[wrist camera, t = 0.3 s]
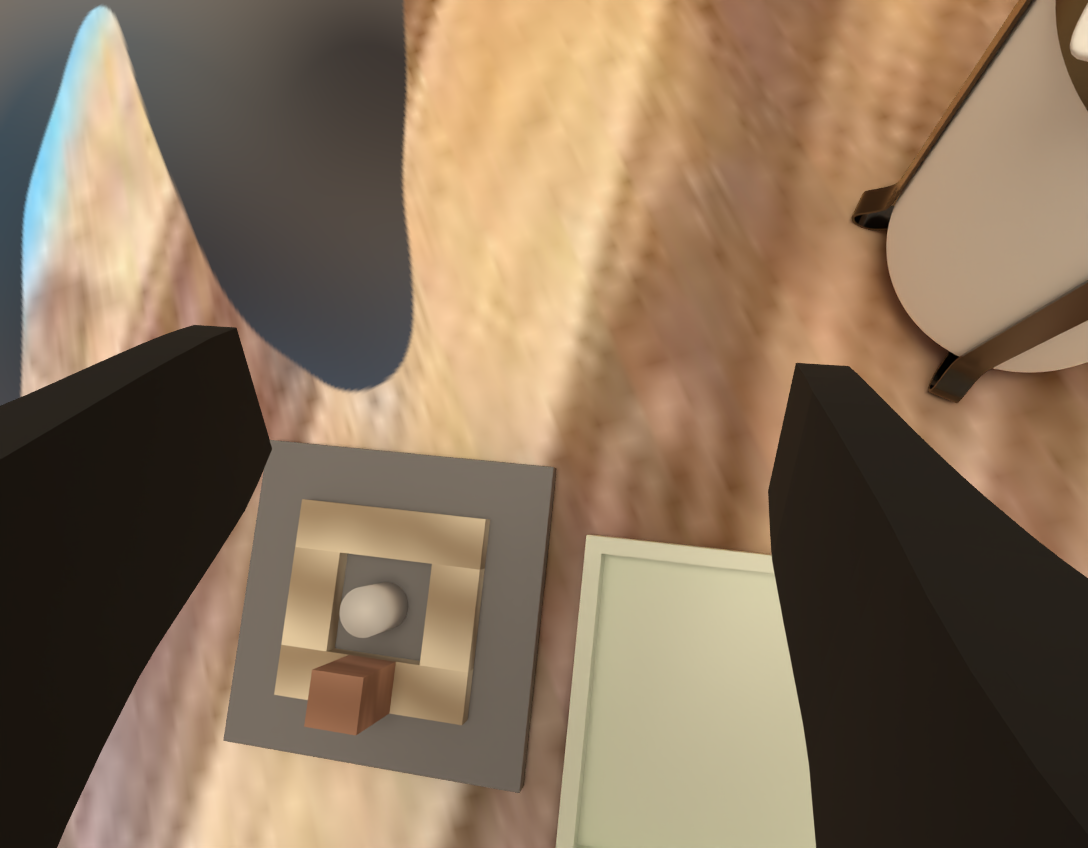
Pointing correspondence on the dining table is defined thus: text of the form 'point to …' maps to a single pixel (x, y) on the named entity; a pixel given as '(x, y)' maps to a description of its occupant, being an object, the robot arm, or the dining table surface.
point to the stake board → (497, 618)
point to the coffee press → (1000, 207)
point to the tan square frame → (369, 679)
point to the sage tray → (682, 704)
